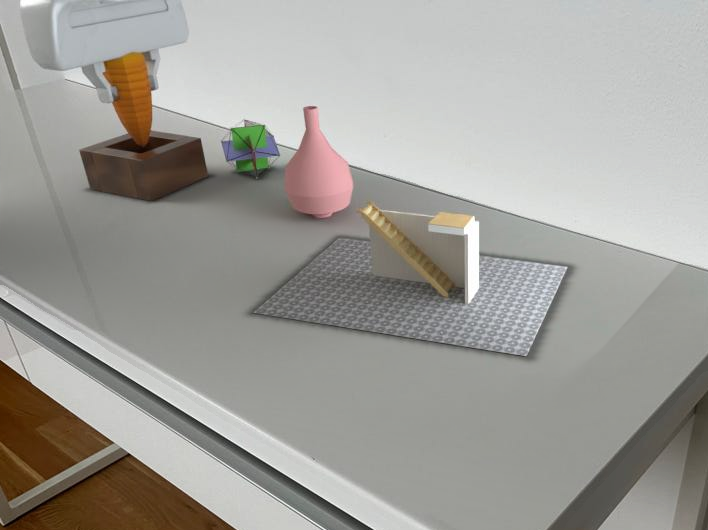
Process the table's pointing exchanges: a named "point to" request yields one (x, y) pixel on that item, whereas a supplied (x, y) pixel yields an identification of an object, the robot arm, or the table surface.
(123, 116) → the carrot
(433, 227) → the model
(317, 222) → the table surface
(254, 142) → the geometric puzzle
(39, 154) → the table surface
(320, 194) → the pink vase
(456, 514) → the table surface
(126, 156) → the hole block
